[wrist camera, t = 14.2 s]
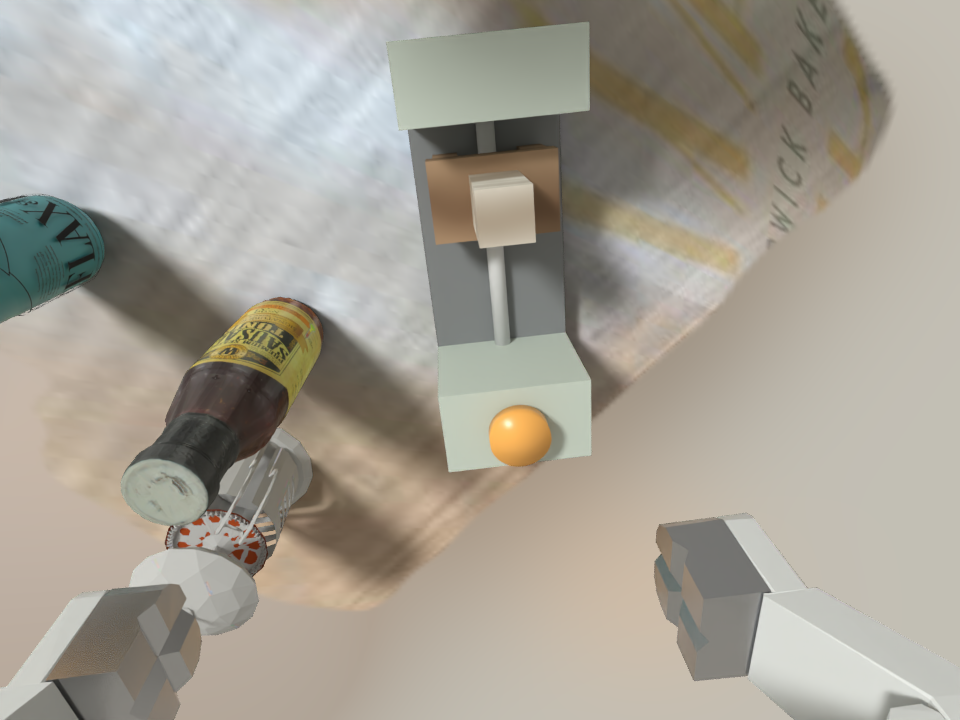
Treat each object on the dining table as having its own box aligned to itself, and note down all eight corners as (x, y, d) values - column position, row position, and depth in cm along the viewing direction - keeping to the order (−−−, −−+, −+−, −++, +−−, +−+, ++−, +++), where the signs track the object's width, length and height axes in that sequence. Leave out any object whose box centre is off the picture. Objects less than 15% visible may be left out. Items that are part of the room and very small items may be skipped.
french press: (180, 482, 49) (-42, 811, 26) (237, 386, 45) (37, 673, 23) (281, 527, 52) (161, 857, 29) (343, 440, 48) (259, 742, 26)
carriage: (426, 155, 36) (422, 174, 27) (546, 143, 36) (581, 157, 27) (436, 230, 38) (435, 271, 29) (549, 218, 39) (582, 255, 30)
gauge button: (480, 373, 40) (487, 418, 34) (534, 367, 40) (550, 411, 35) (485, 420, 42) (492, 469, 36) (537, 413, 42) (552, 462, 36)
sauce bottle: (323, 293, 42) (238, 438, 24) (328, 366, 45) (255, 544, 27) (235, 291, 42) (83, 437, 24) (246, 365, 44) (116, 545, 27)
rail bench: (399, 55, 36) (386, 42, 27) (551, 40, 36) (589, 21, 27) (446, 400, 47) (448, 472, 38) (562, 387, 47) (591, 455, 38)
